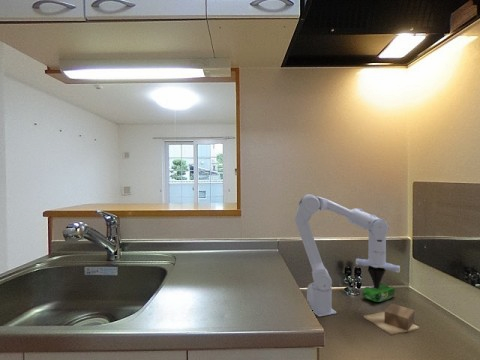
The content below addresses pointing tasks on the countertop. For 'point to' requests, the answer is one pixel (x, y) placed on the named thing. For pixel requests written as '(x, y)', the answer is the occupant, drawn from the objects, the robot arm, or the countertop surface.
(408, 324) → the slab
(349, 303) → the countertop surface
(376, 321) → the plate
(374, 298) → the snack package
